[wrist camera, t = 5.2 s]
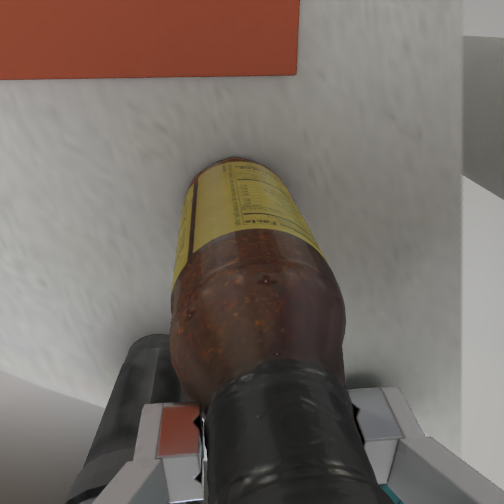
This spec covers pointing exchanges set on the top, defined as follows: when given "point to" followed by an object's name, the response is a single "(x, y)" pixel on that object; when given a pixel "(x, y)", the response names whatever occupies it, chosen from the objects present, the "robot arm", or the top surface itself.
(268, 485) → the sauce bottle
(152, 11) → the condiment mat
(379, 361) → the top surface
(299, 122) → the top surface
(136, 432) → the beverage cup
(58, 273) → the top surface
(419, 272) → the top surface
